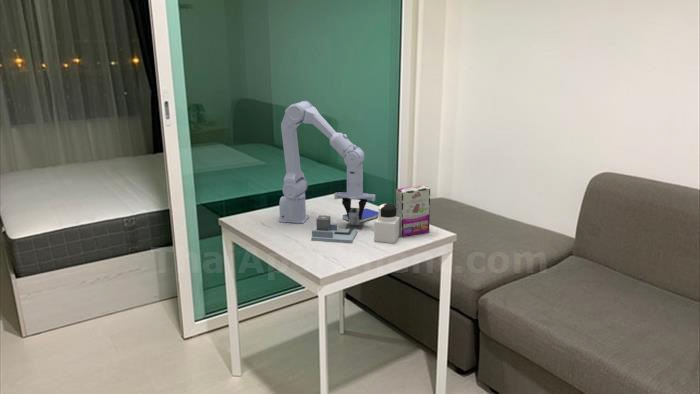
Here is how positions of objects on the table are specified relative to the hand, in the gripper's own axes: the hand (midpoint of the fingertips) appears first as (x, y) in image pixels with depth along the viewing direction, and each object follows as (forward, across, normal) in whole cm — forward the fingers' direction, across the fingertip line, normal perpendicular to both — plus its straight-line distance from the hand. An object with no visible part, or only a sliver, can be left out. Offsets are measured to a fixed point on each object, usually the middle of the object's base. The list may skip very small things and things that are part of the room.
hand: (354, 218), depth 192 cm
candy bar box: (+3, +21, -3) cm, 21 cm away
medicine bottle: (+3, +13, -10) cm, 17 cm away
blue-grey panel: (+3, -5, -10) cm, 11 cm away
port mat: (+3, 0, 0) cm, 3 cm away
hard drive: (+3, +1, +9) cm, 10 cm away
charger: (+2, -9, -11) cm, 14 cm away
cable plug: (+1, 0, 0) cm, 1 cm away
